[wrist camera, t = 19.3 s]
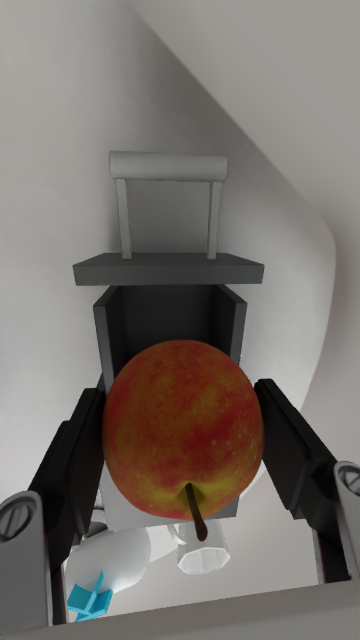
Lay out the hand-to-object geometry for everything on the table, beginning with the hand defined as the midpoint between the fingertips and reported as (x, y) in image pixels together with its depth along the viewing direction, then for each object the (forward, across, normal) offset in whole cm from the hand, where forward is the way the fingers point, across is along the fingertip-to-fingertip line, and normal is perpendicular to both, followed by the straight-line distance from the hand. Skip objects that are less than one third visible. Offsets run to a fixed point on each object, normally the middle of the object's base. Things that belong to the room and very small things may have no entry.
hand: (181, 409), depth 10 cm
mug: (+14, +10, +38) cm, 41 cm away
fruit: (+3, 0, 0) cm, 3 cm away
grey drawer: (+13, 0, -2) cm, 13 cm away
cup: (+14, -3, +31) cm, 34 cm away
